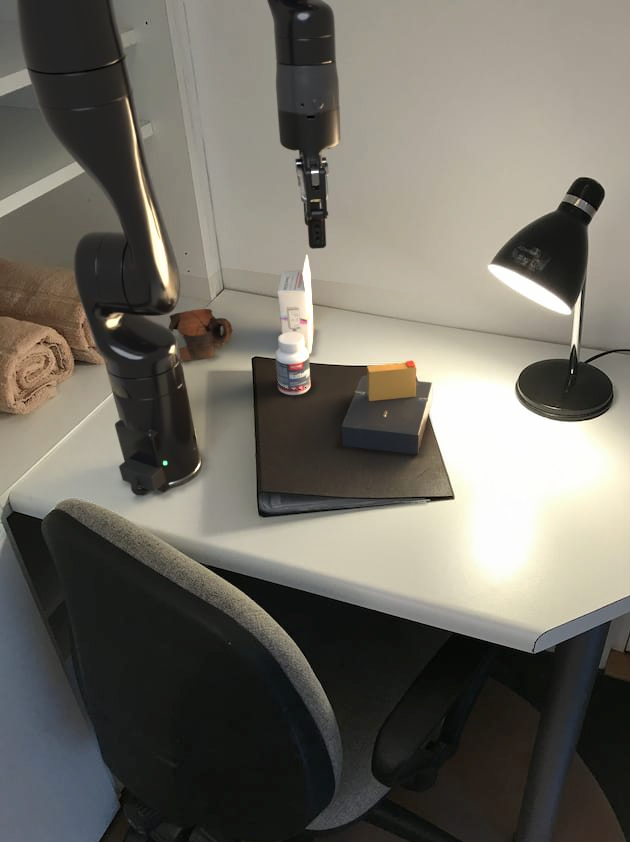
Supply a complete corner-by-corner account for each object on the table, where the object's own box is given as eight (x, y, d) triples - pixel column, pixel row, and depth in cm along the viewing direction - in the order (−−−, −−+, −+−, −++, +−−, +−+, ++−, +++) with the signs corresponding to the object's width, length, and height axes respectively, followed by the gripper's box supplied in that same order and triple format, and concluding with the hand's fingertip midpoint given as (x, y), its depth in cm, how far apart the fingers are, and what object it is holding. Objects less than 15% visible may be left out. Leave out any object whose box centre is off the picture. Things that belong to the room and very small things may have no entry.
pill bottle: (291, 399, 119) (286, 350, 113) (271, 386, 122) (266, 337, 116) (317, 387, 121) (314, 338, 116) (297, 375, 124) (293, 326, 119)
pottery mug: (163, 365, 128) (153, 316, 127) (190, 362, 137) (181, 316, 136) (227, 353, 125) (217, 303, 124) (250, 351, 134) (241, 304, 133)
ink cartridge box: (286, 331, 136) (280, 252, 127) (314, 331, 136) (309, 252, 127) (282, 355, 130) (274, 273, 120) (311, 354, 130) (305, 273, 120)
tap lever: (369, 401, 111) (368, 370, 108) (367, 394, 113) (366, 364, 109) (415, 396, 112) (416, 366, 109) (413, 390, 114) (414, 359, 110)
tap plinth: (418, 454, 107) (419, 433, 105) (341, 446, 109) (340, 425, 107) (432, 399, 118) (433, 379, 116) (362, 392, 120) (362, 372, 118)
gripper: (275, 92, 96) (284, 219, 106) (279, 118, 85) (289, 257, 95) (333, 89, 97) (337, 216, 107) (345, 115, 86) (348, 254, 96)
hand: (315, 235), depth 101 cm, fingers open, 8 cm apart
